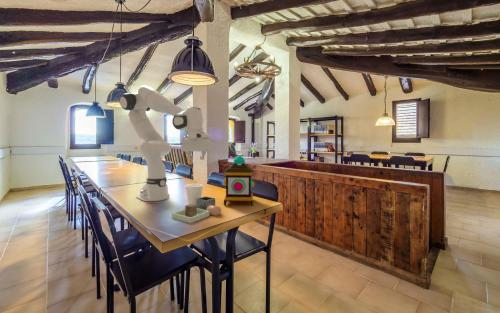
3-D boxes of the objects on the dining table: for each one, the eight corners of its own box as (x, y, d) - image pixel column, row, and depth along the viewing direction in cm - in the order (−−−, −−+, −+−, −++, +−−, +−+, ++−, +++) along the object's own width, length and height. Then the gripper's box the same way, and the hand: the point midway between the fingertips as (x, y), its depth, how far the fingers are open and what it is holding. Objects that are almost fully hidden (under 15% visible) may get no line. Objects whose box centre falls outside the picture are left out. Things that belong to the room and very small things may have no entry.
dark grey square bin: (196, 211, 132) (196, 199, 132) (205, 208, 138) (205, 196, 138) (206, 213, 128) (206, 200, 128) (215, 210, 134) (215, 198, 134)
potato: (206, 215, 126) (205, 206, 125) (212, 212, 130) (212, 203, 129) (215, 217, 123) (214, 208, 122) (221, 214, 127) (220, 205, 126)
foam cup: (198, 209, 135) (198, 187, 134) (183, 208, 137) (183, 186, 136) (205, 205, 145) (204, 184, 144) (190, 204, 147) (190, 183, 146)
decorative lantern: (254, 207, 141) (255, 156, 139) (221, 206, 142) (221, 156, 140) (254, 198, 161) (255, 154, 159) (225, 198, 162) (225, 154, 160)
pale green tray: (171, 219, 119) (171, 213, 119) (191, 212, 130) (191, 207, 130) (190, 224, 112) (190, 218, 112) (209, 216, 123) (209, 211, 123)
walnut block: (185, 217, 121) (185, 205, 120) (191, 215, 124) (191, 203, 124) (190, 218, 119) (190, 206, 118) (196, 216, 122) (196, 204, 121)
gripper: (178, 135, 139) (179, 159, 140) (204, 134, 128) (205, 160, 129) (187, 135, 145) (187, 158, 146) (212, 134, 133) (213, 159, 134)
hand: (196, 159), depth 137 cm, fingers open, 8 cm apart
